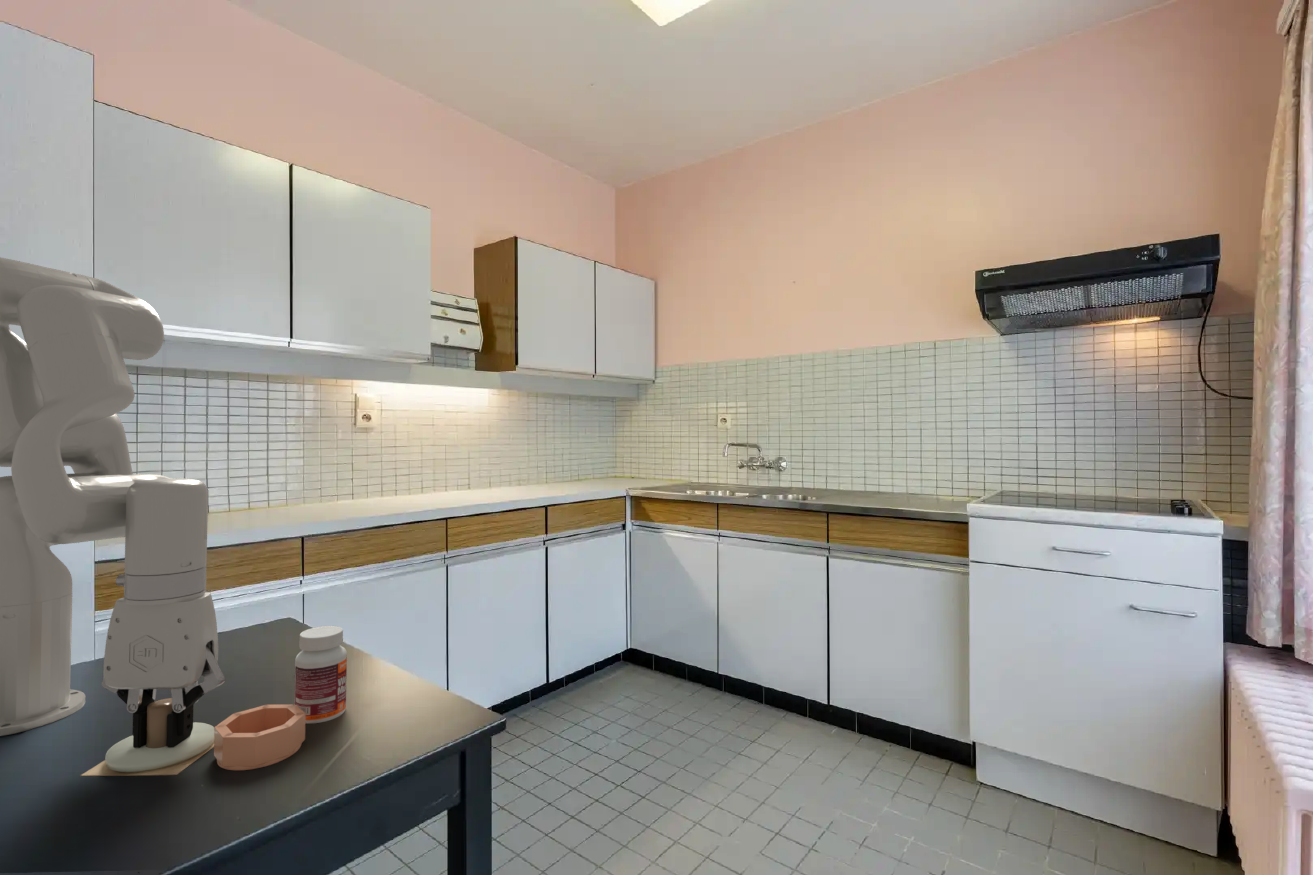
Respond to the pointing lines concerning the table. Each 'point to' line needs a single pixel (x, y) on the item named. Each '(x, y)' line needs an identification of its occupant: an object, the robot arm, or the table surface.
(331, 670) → the pill bottle
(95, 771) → the mat
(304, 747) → the table surface
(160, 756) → the lid
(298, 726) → the bowl
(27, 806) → the table surface
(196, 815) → the table surface
